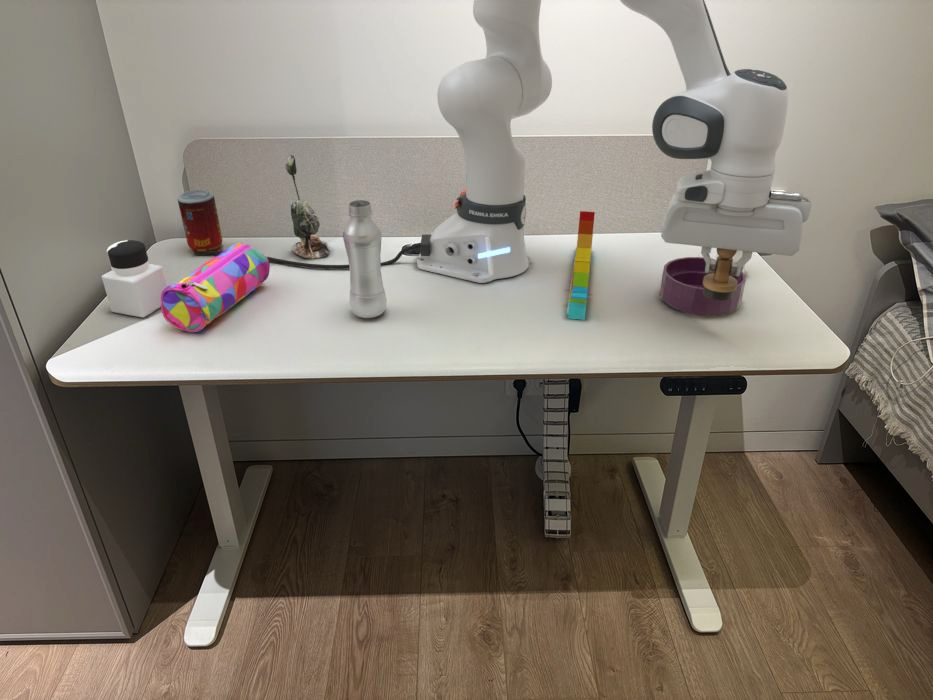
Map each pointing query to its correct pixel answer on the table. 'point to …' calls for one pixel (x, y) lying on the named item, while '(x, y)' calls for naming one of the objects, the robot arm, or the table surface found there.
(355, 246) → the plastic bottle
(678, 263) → the bowl
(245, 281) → the pencil case
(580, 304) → the chart
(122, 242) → the medicine bottle
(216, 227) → the soda can
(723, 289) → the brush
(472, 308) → the table surface
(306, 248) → the plant with pod
